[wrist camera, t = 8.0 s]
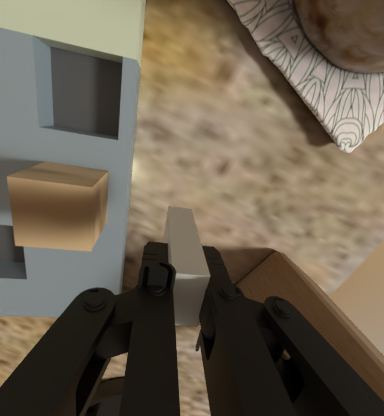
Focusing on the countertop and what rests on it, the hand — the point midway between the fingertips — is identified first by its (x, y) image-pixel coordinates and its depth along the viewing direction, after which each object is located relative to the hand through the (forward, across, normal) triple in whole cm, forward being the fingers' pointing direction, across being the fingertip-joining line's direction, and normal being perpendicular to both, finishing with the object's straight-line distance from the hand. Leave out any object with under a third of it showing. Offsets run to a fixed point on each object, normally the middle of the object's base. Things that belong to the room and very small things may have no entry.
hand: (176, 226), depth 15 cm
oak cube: (+6, +8, +1) cm, 11 cm away
